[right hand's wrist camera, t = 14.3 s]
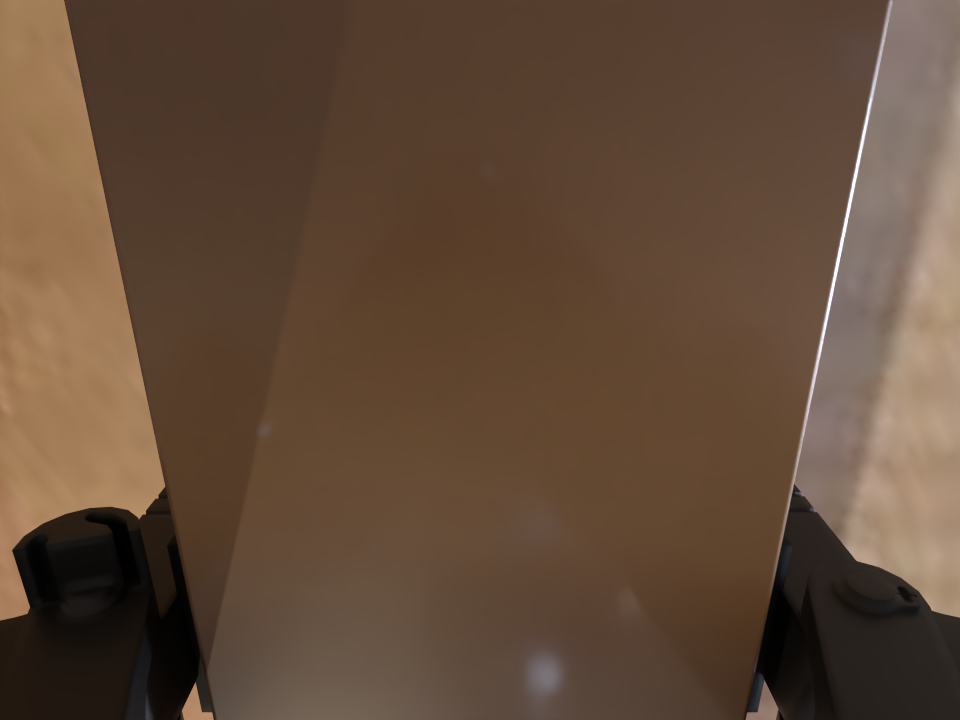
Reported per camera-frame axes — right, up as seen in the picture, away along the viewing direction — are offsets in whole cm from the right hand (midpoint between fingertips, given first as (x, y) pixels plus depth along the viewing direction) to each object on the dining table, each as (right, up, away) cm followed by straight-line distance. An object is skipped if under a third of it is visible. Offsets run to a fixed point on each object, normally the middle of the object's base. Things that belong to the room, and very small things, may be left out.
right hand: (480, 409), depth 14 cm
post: (0, +22, -8) cm, 24 cm away
